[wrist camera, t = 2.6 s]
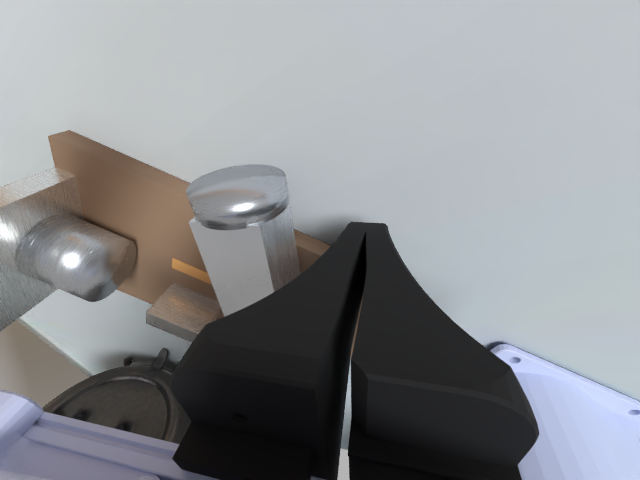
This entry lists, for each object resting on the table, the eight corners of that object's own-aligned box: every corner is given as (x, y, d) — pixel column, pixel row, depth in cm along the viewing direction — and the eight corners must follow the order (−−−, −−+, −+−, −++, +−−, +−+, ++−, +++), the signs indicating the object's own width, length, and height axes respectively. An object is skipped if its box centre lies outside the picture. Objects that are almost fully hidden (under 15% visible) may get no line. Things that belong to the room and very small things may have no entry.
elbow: (321, 339, 16) (302, 415, 13) (261, 331, 17) (228, 401, 13) (302, 164, 10) (260, 220, 7) (213, 164, 11) (138, 214, 8)
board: (405, 278, 14) (406, 294, 13) (334, 365, 19) (331, 380, 18) (69, 130, 13) (46, 136, 12) (93, 263, 18) (79, 274, 17)
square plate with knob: (236, 245, 13) (170, 331, 9) (219, 317, 17) (165, 402, 13) (55, 166, 13) (-96, 222, 9) (75, 257, 17) (-26, 325, 13)
